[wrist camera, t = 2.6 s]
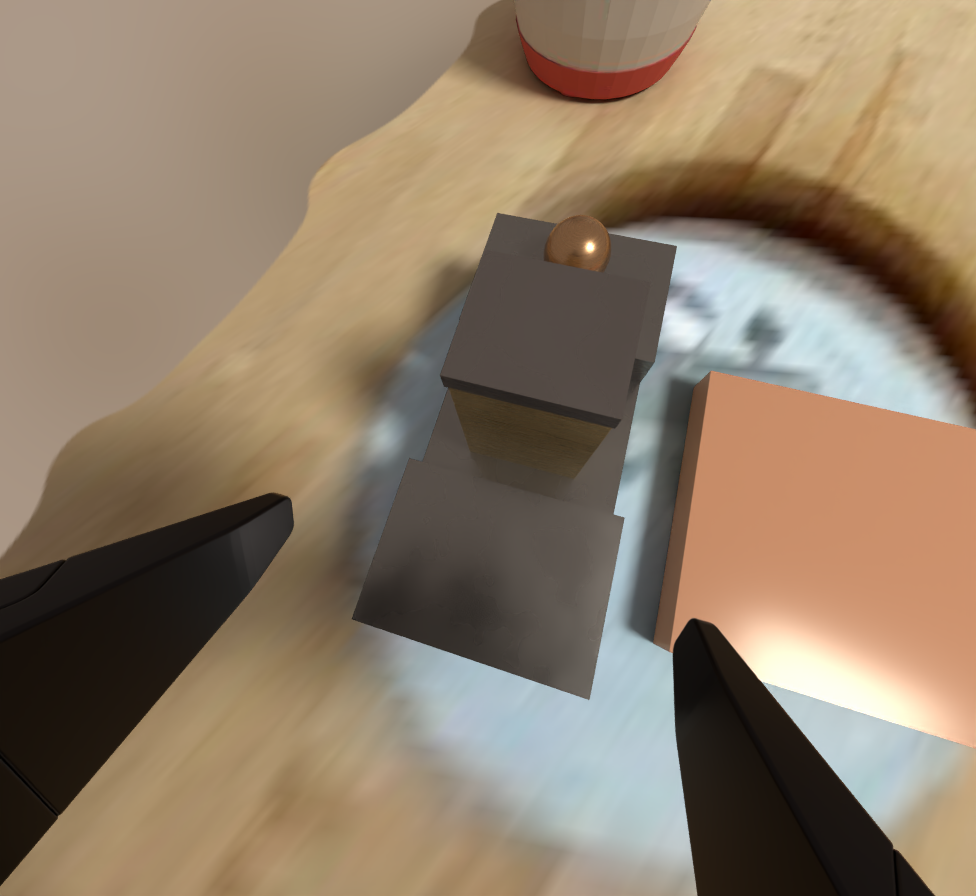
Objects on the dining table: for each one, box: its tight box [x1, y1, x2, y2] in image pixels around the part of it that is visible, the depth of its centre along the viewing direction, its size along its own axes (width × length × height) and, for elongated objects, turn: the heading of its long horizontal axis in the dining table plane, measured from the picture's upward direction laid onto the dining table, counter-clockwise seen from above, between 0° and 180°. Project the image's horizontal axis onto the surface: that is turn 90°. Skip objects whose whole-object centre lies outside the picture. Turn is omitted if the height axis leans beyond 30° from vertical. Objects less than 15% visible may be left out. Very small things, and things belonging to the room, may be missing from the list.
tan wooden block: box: [440, 249, 651, 479], centre depth 15 cm, size 4×5×8 cm
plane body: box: [352, 213, 677, 700], centre depth 18 cm, size 20×9×8 cm, turn 164°
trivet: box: [653, 371, 976, 748], centre depth 19 cm, size 14×14×2 cm
